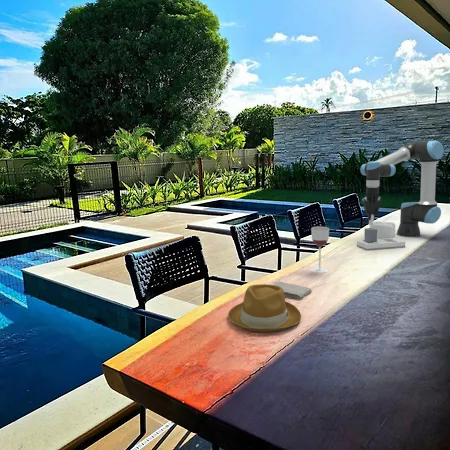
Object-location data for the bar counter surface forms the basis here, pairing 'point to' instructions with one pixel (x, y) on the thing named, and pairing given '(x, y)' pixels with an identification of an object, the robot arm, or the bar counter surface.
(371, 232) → the plug
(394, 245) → the socket plate
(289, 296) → the washcloth
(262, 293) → the fedora
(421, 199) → the robot arm
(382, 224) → the cable organizer
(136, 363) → the bar counter surface
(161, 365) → the bar counter surface
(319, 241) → the wineglass
